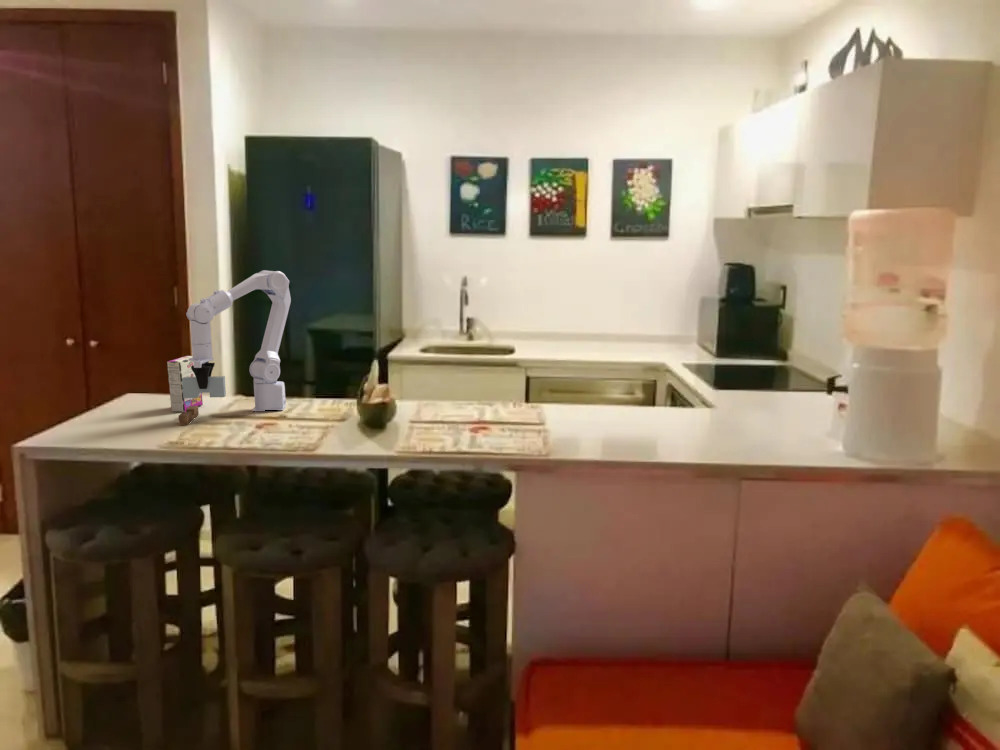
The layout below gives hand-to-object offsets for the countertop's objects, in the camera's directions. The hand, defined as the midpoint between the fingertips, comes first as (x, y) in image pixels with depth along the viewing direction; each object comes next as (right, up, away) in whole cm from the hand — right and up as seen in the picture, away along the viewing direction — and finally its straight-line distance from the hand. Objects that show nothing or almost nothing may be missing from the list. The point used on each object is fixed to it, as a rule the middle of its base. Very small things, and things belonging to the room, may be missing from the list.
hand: (204, 387), depth 261 cm
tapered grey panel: (0, -3, 0) cm, 3 cm away
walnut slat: (-5, -10, 0) cm, 11 cm away
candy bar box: (-11, -7, +17) cm, 22 cm away
